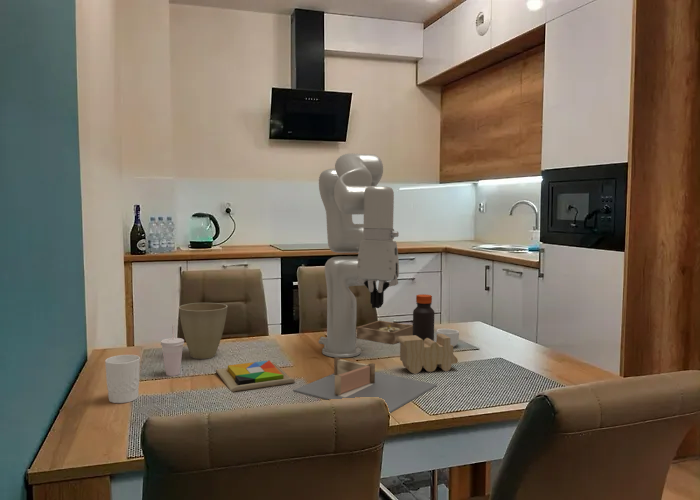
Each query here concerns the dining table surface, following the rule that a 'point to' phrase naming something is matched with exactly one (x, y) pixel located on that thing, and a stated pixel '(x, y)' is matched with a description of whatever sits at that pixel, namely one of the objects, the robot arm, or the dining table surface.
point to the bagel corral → (383, 332)
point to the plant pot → (203, 327)
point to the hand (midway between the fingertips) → (376, 307)
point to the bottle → (423, 317)
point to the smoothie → (172, 354)
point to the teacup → (450, 335)
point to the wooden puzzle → (253, 375)
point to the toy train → (426, 353)
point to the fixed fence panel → (352, 367)
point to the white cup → (122, 378)
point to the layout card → (372, 389)
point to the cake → (389, 329)
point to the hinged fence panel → (352, 380)
